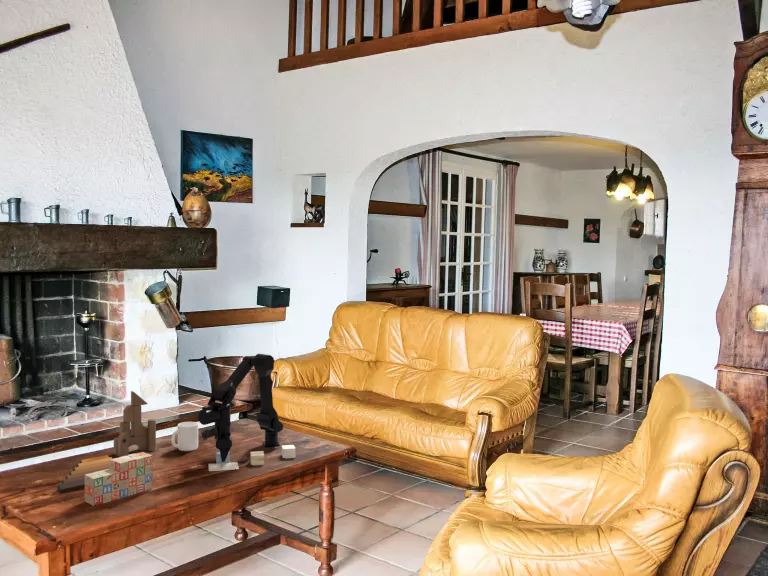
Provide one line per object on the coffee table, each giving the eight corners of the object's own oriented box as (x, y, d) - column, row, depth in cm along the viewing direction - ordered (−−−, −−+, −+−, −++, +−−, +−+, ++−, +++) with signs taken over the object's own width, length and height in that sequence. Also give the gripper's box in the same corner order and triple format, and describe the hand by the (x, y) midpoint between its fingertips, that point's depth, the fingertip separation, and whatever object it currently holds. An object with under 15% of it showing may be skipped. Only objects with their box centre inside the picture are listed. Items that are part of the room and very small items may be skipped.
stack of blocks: (93, 506, 222) (93, 469, 221) (84, 502, 226) (83, 465, 225) (153, 489, 238) (152, 454, 238) (143, 485, 242) (143, 451, 242)
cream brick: (281, 455, 279) (281, 445, 279) (293, 454, 281) (293, 444, 280) (282, 458, 275) (283, 449, 274) (295, 458, 276) (295, 448, 276)
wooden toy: (120, 458, 271) (119, 396, 270) (113, 454, 276) (113, 393, 275) (157, 450, 282) (157, 390, 280) (150, 446, 287) (150, 388, 285)
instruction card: (208, 464, 265) (208, 463, 265) (237, 462, 268) (237, 462, 268) (208, 471, 258) (208, 470, 258) (238, 469, 261) (238, 468, 261)
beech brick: (250, 461, 270) (250, 451, 270) (263, 461, 271) (263, 451, 271) (251, 465, 265) (251, 455, 265) (264, 465, 267) (264, 455, 266)
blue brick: (216, 460, 271) (216, 450, 271) (228, 459, 273) (228, 449, 273) (216, 464, 267) (216, 454, 266) (229, 463, 268) (229, 453, 268)
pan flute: (60, 495, 232) (132, 479, 250) (60, 485, 232) (132, 469, 249) (37, 476, 251) (106, 462, 268) (37, 467, 250) (106, 453, 267)
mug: (176, 454, 277) (176, 429, 276) (165, 450, 282) (165, 425, 282) (202, 448, 286) (202, 424, 285) (190, 444, 291) (190, 420, 291)
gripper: (201, 414, 276) (201, 452, 277) (202, 426, 258) (201, 467, 259) (229, 413, 278) (229, 450, 280) (232, 425, 261) (232, 465, 262)
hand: (222, 458), depth 270 cm, fingers open, 8 cm apart
